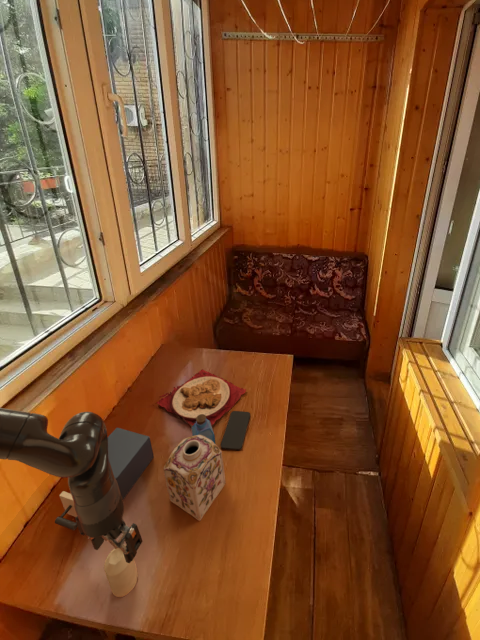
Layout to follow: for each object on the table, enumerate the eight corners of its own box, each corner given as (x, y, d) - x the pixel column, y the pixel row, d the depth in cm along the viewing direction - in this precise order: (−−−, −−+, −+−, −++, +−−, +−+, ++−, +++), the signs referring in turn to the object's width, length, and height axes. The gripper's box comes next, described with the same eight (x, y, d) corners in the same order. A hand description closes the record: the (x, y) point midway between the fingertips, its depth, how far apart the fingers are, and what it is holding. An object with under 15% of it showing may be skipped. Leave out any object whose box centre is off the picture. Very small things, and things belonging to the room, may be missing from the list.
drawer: (85, 545, 78) (79, 526, 76) (51, 530, 81) (43, 512, 78) (133, 479, 93) (129, 462, 91) (103, 469, 96) (97, 452, 94)
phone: (219, 447, 103) (231, 410, 117) (219, 449, 103) (231, 412, 117) (241, 449, 102) (250, 412, 116) (241, 451, 102) (251, 413, 116)
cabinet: (122, 500, 89) (116, 478, 85) (87, 488, 92) (80, 466, 89) (154, 457, 101) (149, 436, 98) (122, 447, 104) (116, 427, 101)
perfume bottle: (193, 441, 106) (189, 414, 102) (211, 434, 109) (208, 407, 104) (197, 456, 101) (193, 429, 97) (216, 448, 103) (212, 421, 99)
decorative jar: (197, 465, 98) (191, 422, 92) (227, 483, 93) (222, 438, 87) (168, 502, 88) (158, 456, 82) (199, 523, 83) (191, 477, 77)
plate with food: (204, 436, 108) (203, 429, 107) (156, 404, 120) (155, 398, 119) (247, 393, 127) (247, 386, 126) (202, 369, 139) (201, 363, 138)
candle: (143, 576, 73) (135, 550, 70) (120, 604, 69) (111, 578, 65) (129, 560, 76) (121, 535, 72) (106, 586, 71) (97, 560, 68)
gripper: (54, 511, 61) (75, 561, 67) (113, 534, 57) (129, 584, 63) (87, 474, 68) (103, 522, 73) (141, 493, 64) (154, 541, 70)
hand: (115, 551), depth 68 cm, fingers open, 8 cm apart
